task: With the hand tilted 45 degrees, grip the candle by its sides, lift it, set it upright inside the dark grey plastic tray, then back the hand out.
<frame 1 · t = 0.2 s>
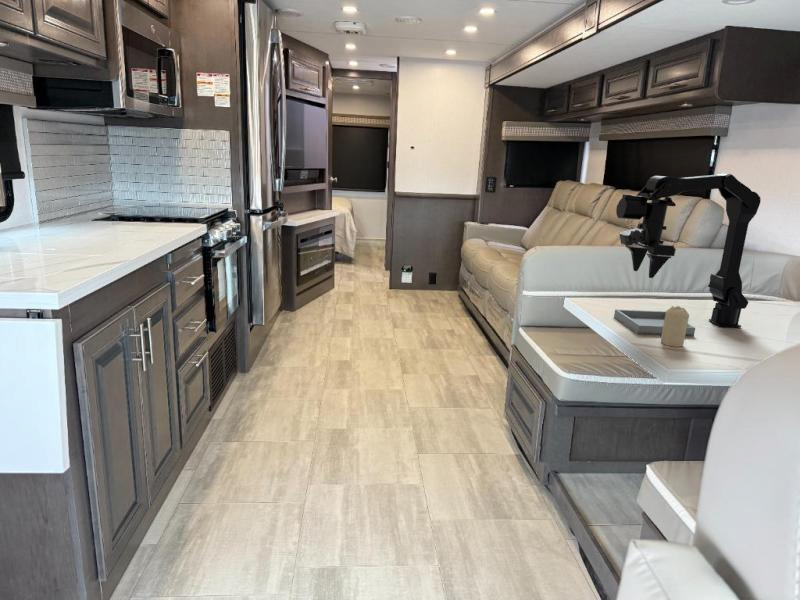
hand: (642, 274, 161), 14 cm above the table, tool pointing down, fingers open, 9 cm apart
candle: (671, 344, 146), on the table
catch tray: (651, 326, 161), on the table
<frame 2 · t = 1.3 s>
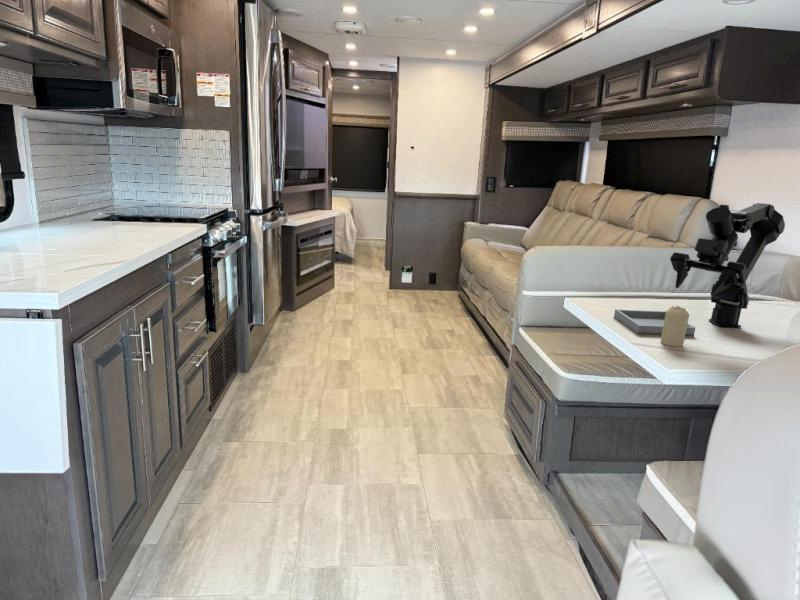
hand: (693, 291, 147), 13 cm above the table, tool tilted 45°, fingers open, 9 cm apart
nothing on the table moved.
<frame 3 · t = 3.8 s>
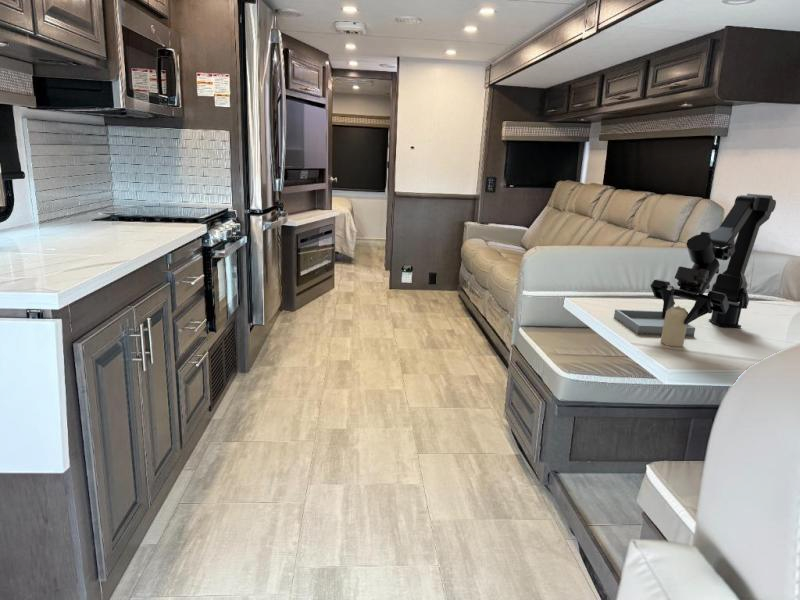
hand: (673, 320, 144), 7 cm above the table, tool tilted 45°, fingers closed on candle, 5 cm apart
candle: (671, 344, 146), on the table, touching gripper
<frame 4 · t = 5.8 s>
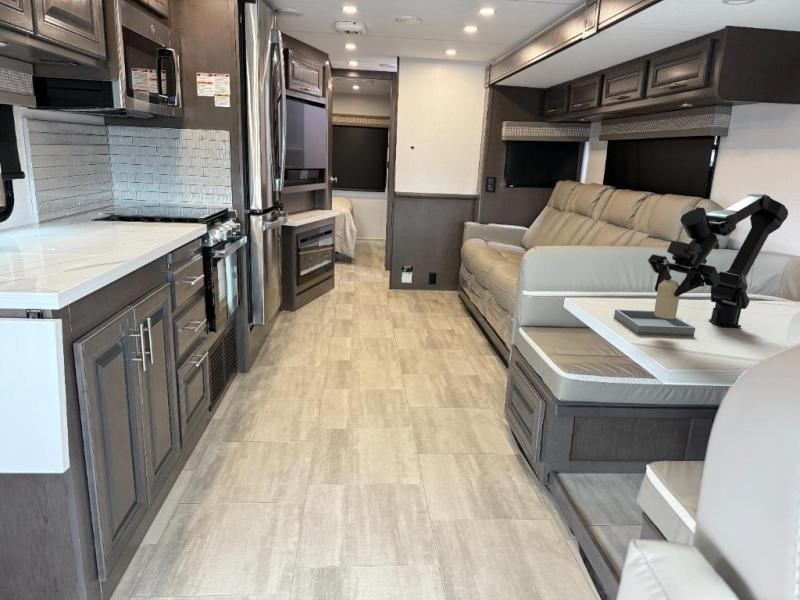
hand: (665, 293, 149), 12 cm above the table, tool tilted 45°, fingers closed on candle, 5 cm apart
candle: (664, 316, 151), point 5 cm above the table, touching gripper
when the fingers open (9 cm above the table, at t = 7.7 s): candle drops 2 cm, resting on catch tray.
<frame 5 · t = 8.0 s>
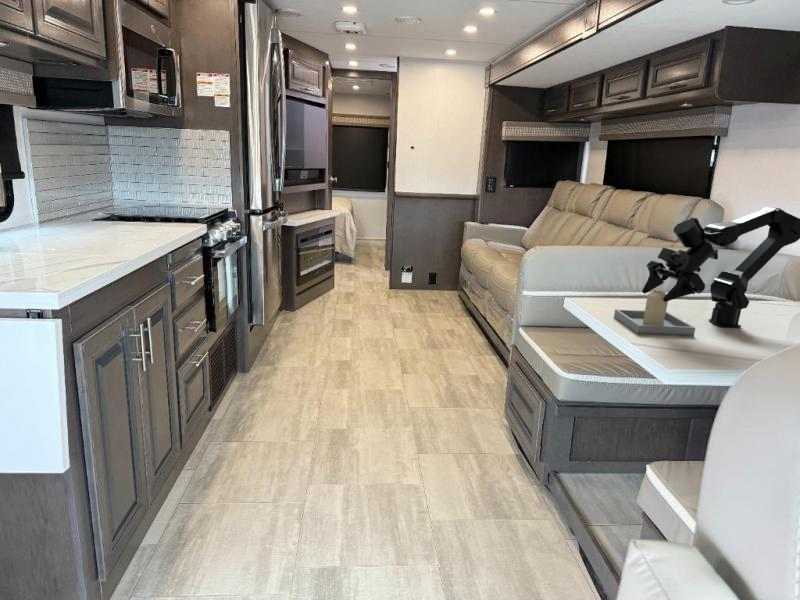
hand: (653, 296, 158), 9 cm above the table, tool tilted 45°, fingers open, 9 cm apart
candle: (652, 325, 161), resting on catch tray
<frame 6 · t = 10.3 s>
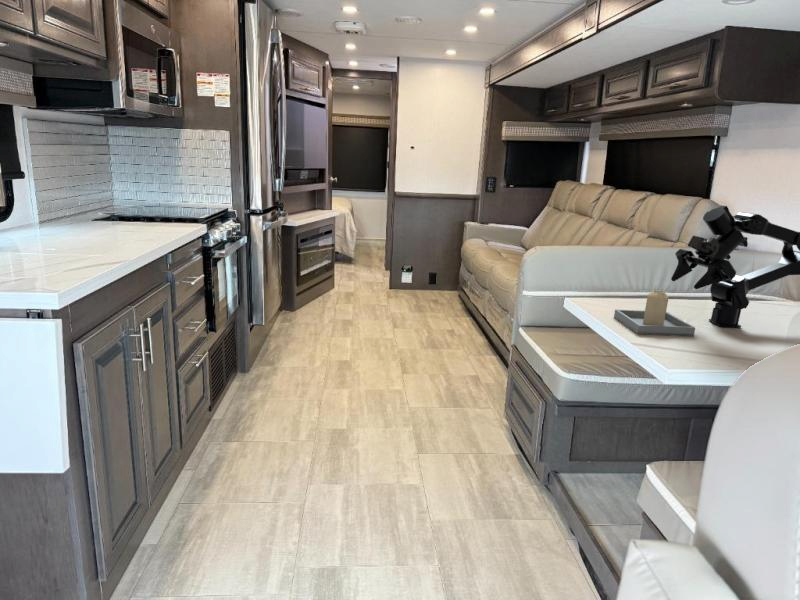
hand: (683, 284, 160), 13 cm above the table, tool tilted 45°, fingers open, 9 cm apart
nothing on the table moved.
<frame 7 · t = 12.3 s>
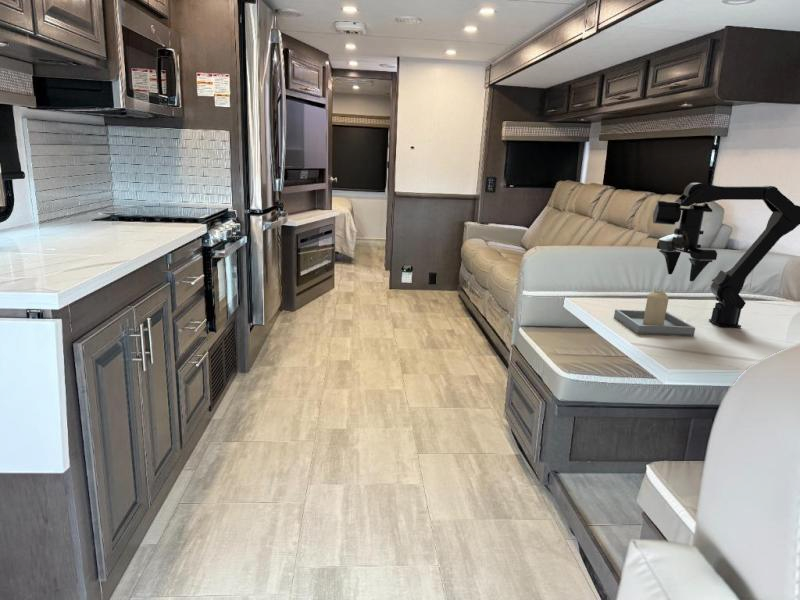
hand: (680, 277, 167), 13 cm above the table, tool pointing down, fingers open, 9 cm apart
nothing on the table moved.
at the end: candle inside the target area on the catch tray (0.2 cm from its centre), point 0.4 cm above the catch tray's base; candle tilted 0°; the gripper is holding nothing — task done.
